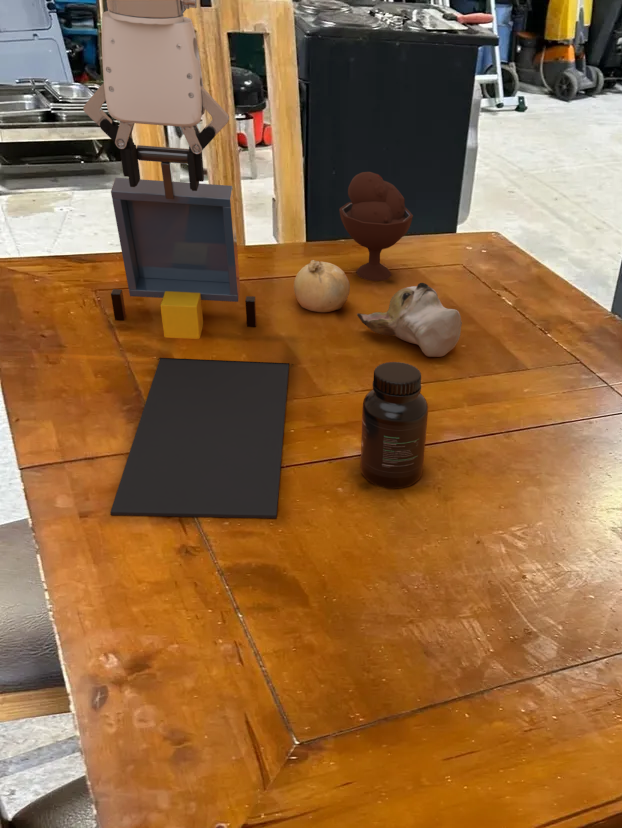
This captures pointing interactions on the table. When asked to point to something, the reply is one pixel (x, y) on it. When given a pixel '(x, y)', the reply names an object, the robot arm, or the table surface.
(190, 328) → the block
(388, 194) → the ice cream bowl
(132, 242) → the blue-grey tray
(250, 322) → the dark brown post pair
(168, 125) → the robot arm
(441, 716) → the table surface
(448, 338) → the ceramic sculpture
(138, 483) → the mat
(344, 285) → the onion
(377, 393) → the supplement bottle
